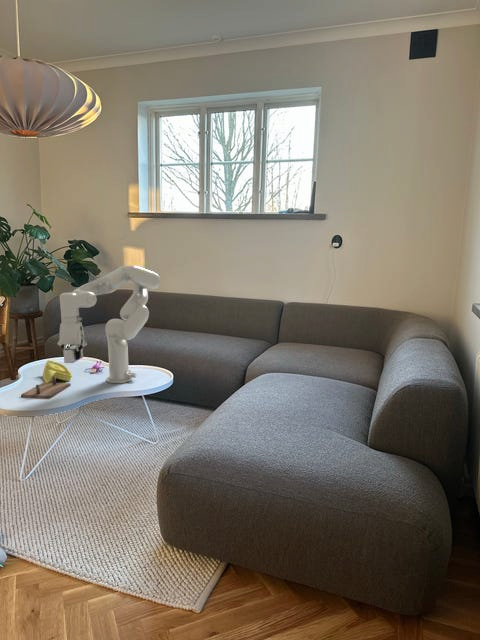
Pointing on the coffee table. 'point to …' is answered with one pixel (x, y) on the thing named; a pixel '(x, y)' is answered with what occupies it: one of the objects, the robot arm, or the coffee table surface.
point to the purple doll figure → (95, 368)
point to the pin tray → (46, 389)
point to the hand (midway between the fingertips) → (73, 358)
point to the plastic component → (55, 372)
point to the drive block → (71, 354)
